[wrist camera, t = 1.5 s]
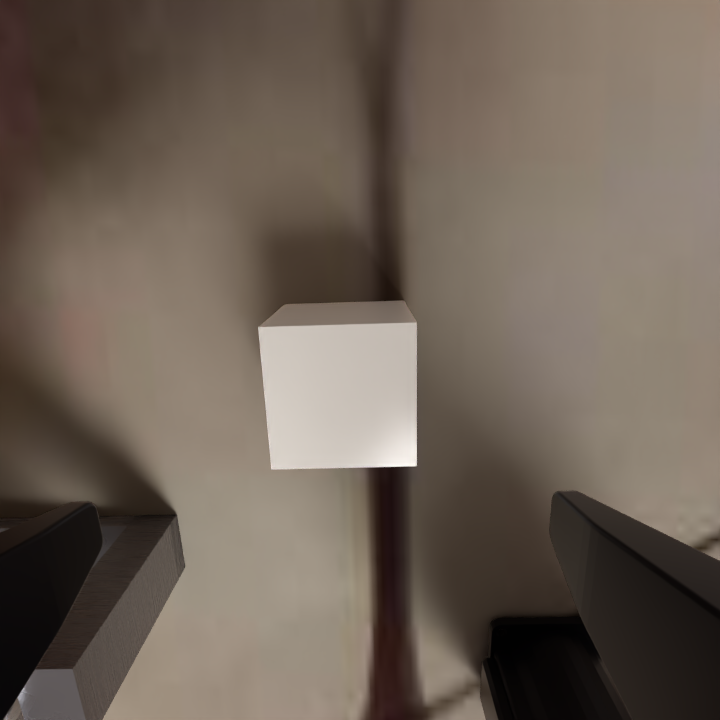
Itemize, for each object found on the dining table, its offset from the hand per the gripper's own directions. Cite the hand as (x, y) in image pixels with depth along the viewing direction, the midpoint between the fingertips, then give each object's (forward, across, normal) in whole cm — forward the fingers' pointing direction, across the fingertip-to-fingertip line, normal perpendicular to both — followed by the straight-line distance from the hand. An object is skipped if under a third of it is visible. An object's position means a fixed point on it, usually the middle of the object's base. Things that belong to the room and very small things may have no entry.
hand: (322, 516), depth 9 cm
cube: (+11, 0, 0) cm, 11 cm away
